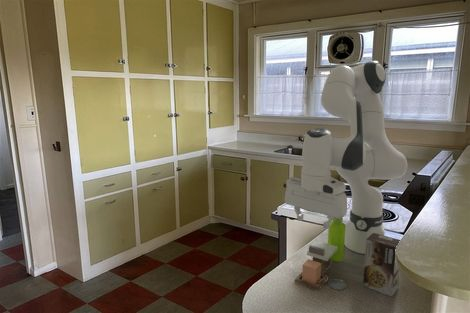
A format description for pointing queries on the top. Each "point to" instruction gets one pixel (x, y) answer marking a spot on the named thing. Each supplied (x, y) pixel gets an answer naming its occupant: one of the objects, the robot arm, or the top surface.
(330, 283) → the slate coaster
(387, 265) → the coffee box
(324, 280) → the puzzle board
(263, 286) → the top surface
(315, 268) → the terracotta block
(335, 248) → the sliding lid
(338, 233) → the soap dispenser
